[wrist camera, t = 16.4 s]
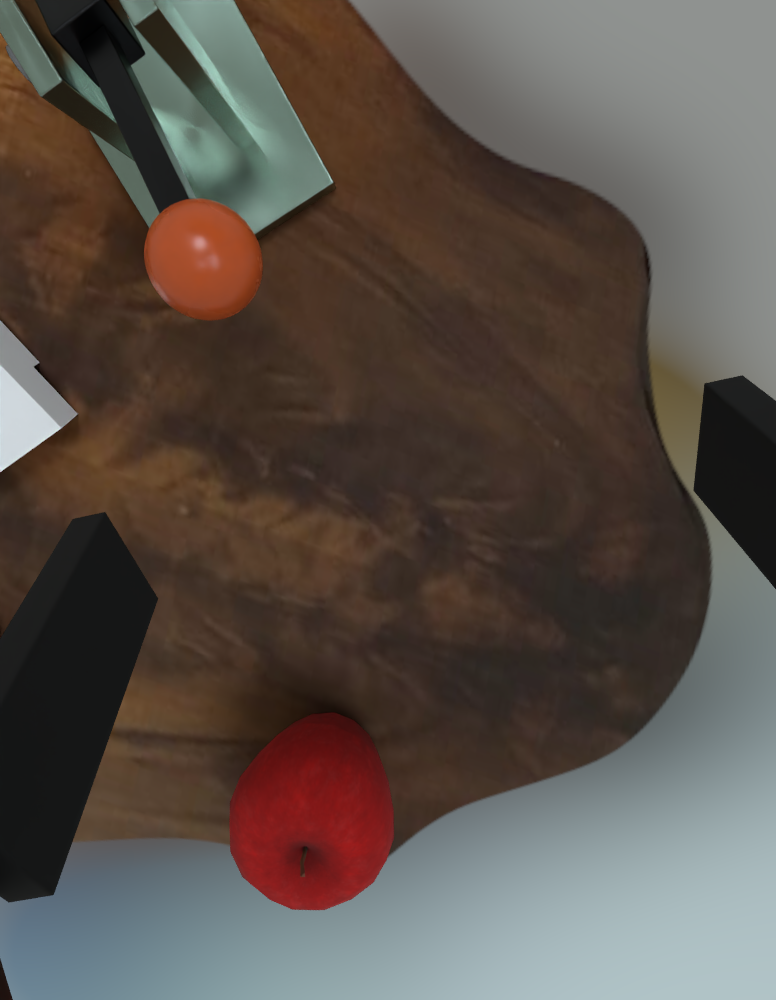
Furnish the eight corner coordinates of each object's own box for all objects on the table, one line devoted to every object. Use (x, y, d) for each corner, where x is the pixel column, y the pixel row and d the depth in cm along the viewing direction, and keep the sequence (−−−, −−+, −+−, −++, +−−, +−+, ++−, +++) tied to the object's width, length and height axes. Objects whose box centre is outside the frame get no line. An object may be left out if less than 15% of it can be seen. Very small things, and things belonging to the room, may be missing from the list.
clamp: (336, 188, 34) (283, 76, 20) (189, 284, 35) (49, 240, 22) (217, -30, 31) (69, -317, 18) (66, 83, 33) (-174, -105, 19)
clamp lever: (297, 301, 20) (248, 245, 17) (209, 356, 21) (144, 313, 17) (145, 5, 23) (77, -95, 20) (71, 60, 24) (-8, -27, 20)
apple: (289, 659, 40) (244, 768, 30) (421, 713, 41) (422, 838, 30) (239, 776, 43) (181, 915, 32) (365, 825, 43) (348, 979, 32)
